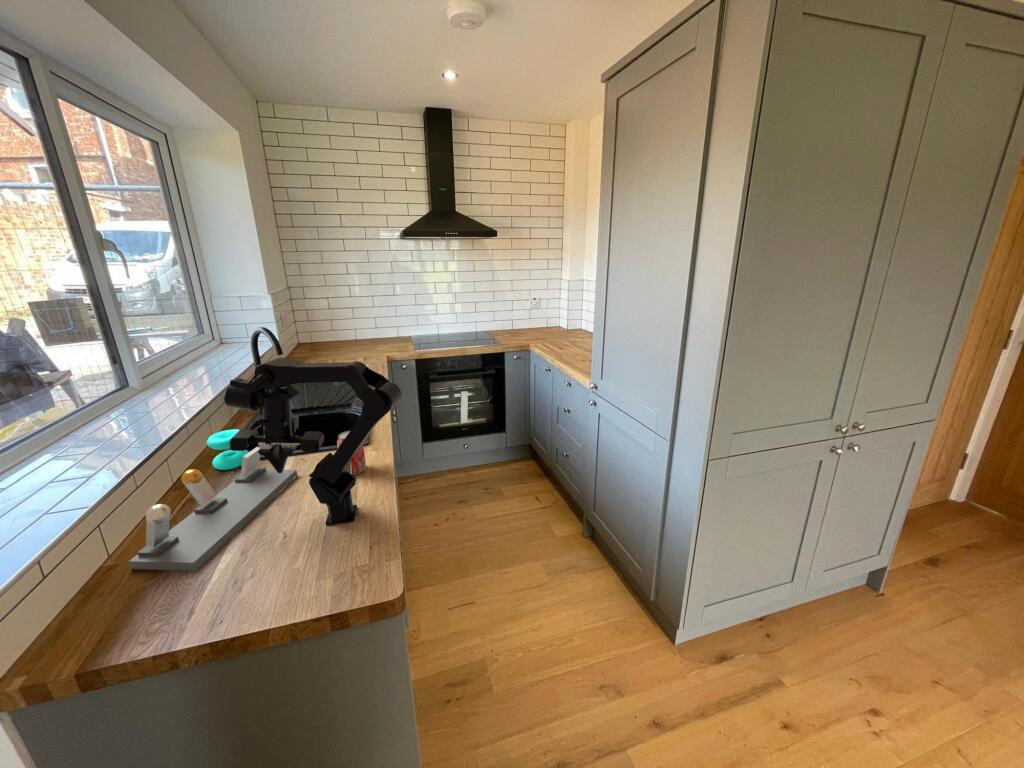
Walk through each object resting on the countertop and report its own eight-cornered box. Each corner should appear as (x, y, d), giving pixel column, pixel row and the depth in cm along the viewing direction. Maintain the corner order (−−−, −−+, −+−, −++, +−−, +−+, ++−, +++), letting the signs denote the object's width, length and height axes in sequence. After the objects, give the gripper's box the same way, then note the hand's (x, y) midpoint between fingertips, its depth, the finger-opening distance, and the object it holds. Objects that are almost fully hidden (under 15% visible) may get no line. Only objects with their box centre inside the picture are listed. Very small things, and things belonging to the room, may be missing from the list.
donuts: (197, 439, 122) (227, 426, 131) (205, 469, 125) (234, 454, 134) (224, 442, 120) (252, 429, 129) (231, 473, 123) (259, 457, 132)
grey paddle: (258, 465, 119) (261, 447, 117) (245, 476, 113) (247, 457, 111) (254, 464, 119) (257, 446, 117) (240, 475, 113) (242, 456, 111)
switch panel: (297, 475, 120) (295, 466, 119) (196, 570, 84) (192, 558, 83) (251, 475, 121) (249, 466, 120) (131, 569, 85) (127, 557, 84)
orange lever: (221, 493, 103) (199, 463, 101) (209, 502, 99) (186, 472, 97) (208, 498, 104) (187, 469, 102) (196, 507, 100) (173, 477, 98)
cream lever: (174, 536, 89) (176, 503, 87) (158, 549, 86) (160, 514, 83) (156, 531, 89) (157, 497, 86) (139, 544, 85) (140, 509, 83)
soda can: (340, 468, 124) (335, 432, 121) (365, 463, 127) (360, 427, 123) (342, 479, 118) (336, 441, 114) (367, 473, 121) (362, 436, 117)
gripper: (328, 401, 103) (329, 456, 108) (246, 398, 99) (251, 455, 104) (317, 419, 93) (318, 479, 98) (225, 416, 89) (231, 479, 94)
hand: (280, 472), depth 99 cm, fingers closed
